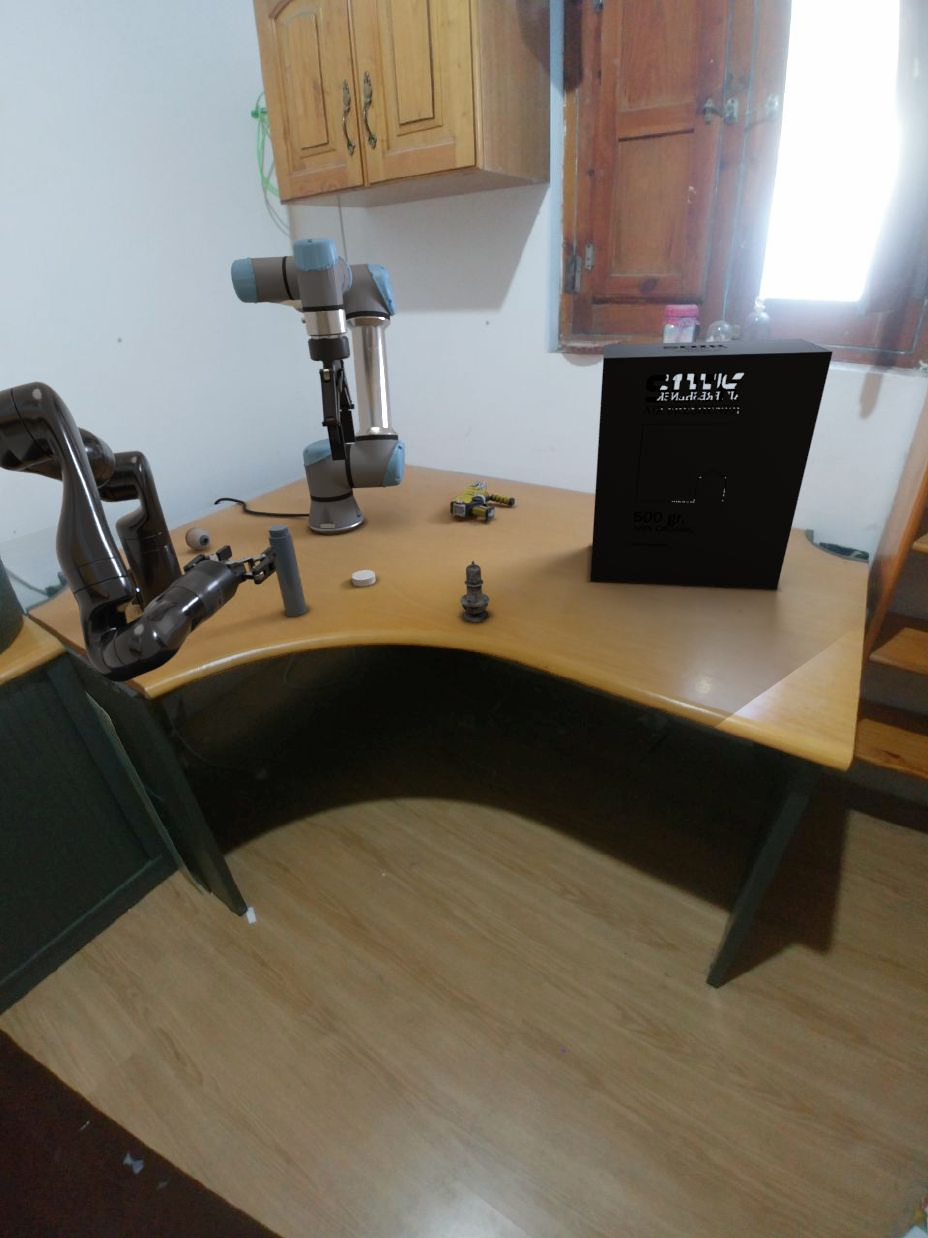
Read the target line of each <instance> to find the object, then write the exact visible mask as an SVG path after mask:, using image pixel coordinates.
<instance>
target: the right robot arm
mask: <svg viewBox="0 0 928 1238" xmlns="http://www.w3.org/2000/svg"><path fill="white" fill-rule="evenodd" d="M292 253H293V255H284V256H266V257H265V256H264V257H250V256H247V257H246V258H238V259H234V261H233V262H231V266H230V277H231V285H232V287H233V290H234V292H235V295H236V297H237V298H238V299H239V301H240V302H242V303H244V304H261V303H269V304H277V305H281V306H282V305H283V306H288V307H292V308H293V309H294V310H296V311H297V312H298V313H302V314H303V317H301V320H300V321H301V323H302V324H305V331H306V335H307V336H309V337H310V338H309V339H308V340H307V346H308V351H309V358H310V360H312V361H314V362H322V368H319V371H318V373H319V379H320V388H321V389H320V390H321V401H322V404H321V405H322V417H323V421H321V425H322V427H323V428H325V427H326V429H327V430H326V431H327V436H328V438H325V439H324V438H323V439H320V440H316V441H314V442H312V443H309V444H308V445H306V446H305V447H304V448H303V450H302V457H303V467H304V471H305V477H306V481H307V486H308V492H309V498H310V507H309V513H280V512H279V513H278V512H265V511H256V510H251V509H248V508H247V503H246V502H245V501H244V500H241V499H237V498H232V497H221V498H218V499H216V500H215V502H214V503H213V505H219V503H221V502H232V503H237V504H241V505H242V510H243V511H244V513H247V514H250V515H256V516H266V517H279V518H280V517H281V518H282V517H283V518H308V521H307V522H308V523H307V524H308V528H309V529H308V530H310V531H311V532H312V533H314V534H317V535H323V536H324V535H325V536H327V535H329V536H331V535H339V534H340V535H341V534H345V533H350V532H353V531H355V530H357V529H359V528H361V527H362V526H363V525H364V523H365V519H364V514H363V512H362V510H361V508H360V505H359V504H358V501H357V500H356V498H355V495H354V489H369V488H370V489H373V488H383V489H385V488H389V487H397V486H399V485H400V484H402V481H403V479H404V475H405V466H406V445H405V442H404V441H402V440H399V434H398V433H397V431H395V430H394V428H393V426H392V411H391V398H390V397H391V395H390V382H389V381H390V380H389V367H388V366H389V365H388V354H387V341H386V339H387V338H386V331H387V329H388V328H389V326H391V317H394V316H395V315H396V314H397V310H396V301H395V296H394V291H393V286H392V283H391V278H390V275H389V272H388V270H387V267H386V266H385V265H384V264H381V263H368V262H366V263H358V264H348V262H347V261H346V260H345V259H344V258H343V257H342V256H341V255H339V254H338V252H337V247H336V243H335V241H334V240H333V238H329V237H314V238H300V239H296V240H294V241H293V243H292ZM348 331H350V332H351V334H350V335H351V345H352V346H351V347H352V359H353V367H354V369H353V370H354V382H355V394H356V404H357V406H355V403H353V400H352V395H351V391H350V387H349V384H348V379H347V374H346V373H347V372H346V370H345V361H344V360H347V359H349V358H350V357H351V348H350V341H349V337H348V336H347V335H346V334H347V333H348ZM356 407H357V418H358V430H357V432H355V426H354V419H353V411H352V410H355V408H356Z"/></svg>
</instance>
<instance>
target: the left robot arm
mask: <svg viewBox="0 0 928 1238" xmlns="http://www.w3.org/2000/svg"><path fill="white" fill-rule="evenodd" d="M0 468H1V469H4V470H6V471H10V472H17V473H27V474H33V475H39V476H42V477H45V478H49V479H52V480H55V481H58V482H60V483H62V499H61V506H60V513H59V518H58V523H57V528H56V535H55V552H56V558H57V561H58V562H57V563H58V564H59V567H60V570H61V572H62V573H63V576H64V578H65V581H66V583H67V584H68V586H69V587H68V588H69V589H70V591H71V594H72V595H73V597H74V599H75V602H76V603H77V605H78V610H79V620H80V626H81V632H82V636H83V642H84V648H85V651H86V655H87V657H88V659H89V662H90V664H91V666H92V667H93V668H94V670H95V671H96V672H97V673H98V674H99V675H100V676H101V677H103V678H104V679H106V680H108V681H111V682H114V683H123V682H127V681H131V680H133V679H136V678H137V677H141V676H142V675H145V674H148V673H150V672H153V671H156V670H157V669H160V668H162V667H163V666H164V665H166V664H167V663H168V662H169V661H171V660H172V659H173V658H174V657H175V656H176V655H177V654H178V652H179V651H180V649H181V647H182V646H183V645H184V644H185V642H186V640H187V638H188V637H189V636H190V635H191V634H193V632H194V631H196V630H197V629H198V628H199V627H200V626H201V625H202V624H204V623H205V622H207V621H208V620H210V619H211V618H212V617H213V616H214V615H215V614H217V613H218V612H219V611H220V610H221V609H222V608H223V607H224V606H226V604H227V603H228V602H229V601H231V600H232V599H233V598H234V597H235V595H236V593H237V591H238V588H239V586H240V585H241V584H242V583H246V582H247V581H248V580H249V581H250V580H251V581H253V583H254V585H257V586H258V585H261V584H263V583H264V582H265V581H266V580H267V579H268V578H270V577H271V576H272V575H273V574H274V573H276V570H277V569H276V565H275V561H274V560H275V559H276V557H277V556H276V552H275V550H274V547H270V546H268V547H266V549H265V550H263V551H262V552H261V553H259V554H258V555H255V556H253V557H252V556H250V555H247V556H243V557H240V558H238V559H231V558H233V551H232V548H231V545H229V544H228V545H227V544H225V545H224V546H222V547H221V548H219V549H218V550H217V551H215V552H210V553H208V555H206V554H205V553H199V554H196V556H195V557H194V558H193V559H191V560H190V561H188V563H186V564H185V565H183V567H182V569H183V571H182V569H181V566H180V565H181V564H180V563H179V559H178V556H177V552H176V549H175V547H174V543H173V540H172V538H171V534H170V530H169V527H168V525H167V521H166V518H165V515H164V512H163V508H162V505H161V501H160V499H159V495H158V491H157V487H156V483H155V482H156V481H155V478H154V474H153V470H152V468H151V465H150V462H149V460H148V458H147V456H146V455H145V454H144V453H143V452H142V451H140V450H127V451H118V452H113V450H112V448H111V447H110V446H109V444H108V443H107V442H105V441H104V440H103V439H102V438H100V437H99V436H97V435H96V434H94V433H93V432H91V431H90V430H88V429H86V428H84V427H80V426H78V425H77V422H76V420H75V418H74V416H73V414H72V412H71V410H70V408H69V407H68V405H67V403H66V402H65V401H64V400H63V398H62V397H61V395H60V393H58V392H57V391H56V390H55V389H54V388H53V387H52V386H50V385H49V384H47V383H45V382H43V381H32V382H27V383H24V384H19V385H16V386H13V387H8V388H5V389H1V390H0ZM135 500H139V504H140V505H139V506H138V507H136V508H135V509H134V510H132V511H130V512H128V513H127V514H125V515H123V516H121V517H119V518H118V519H117V520H116V521H115V524H114V525H115V526H114V527H115V531H116V533H117V536H118V538H119V539H118V540H119V541H120V544H121V547H122V550H123V552H124V555H125V558H126V561H127V564H128V566H129V568H127V566H126V564H125V561H124V559H123V556H122V555H121V553H120V550H119V549H118V546H117V544H116V542H115V538H114V536H113V534H112V531H111V529H110V526H109V523H108V520H107V517H106V513H105V509H104V506H103V503H102V502H105V503H121V502H128V501H135ZM257 562H259V563H258V564H257V565H256V563H257ZM246 563H247V566H248V571H247V568H246V565H245V564H246ZM130 604H131V605H132V606H139V608H140V610H141V611H143V613H142V614H140V615H139V616H137V617H136V618H134V619H132V620H131V621H129V622H128V618H127V617H128V616H127V609H128V607H129V605H130Z"/></svg>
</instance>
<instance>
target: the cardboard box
mask: <svg viewBox="0 0 928 1238" xmlns="http://www.w3.org/2000/svg"><path fill="white" fill-rule="evenodd" d="M833 353H834V352H833V350H830V349H827V348H826V347H825V348H824V347H822V346H821V345H818V344H815V343H813V342H810V341H808V340H805V339H802V338H783V339H782V338H781V339H779V338H777V339H776V338H775V339H749V340H747V339H746V340H723V341H722V340H720V341H719V340H718V341H689V342H687V341H685V342H683V341H682V342H657V343H654V342H653V343H627V344H625V343H624V344H623V343H621V344H604V345H603V359H602V362H603V363H602V375H601V389H600V390H601V392H600V409H599V424H598V425H599V426H598V427H599V428H598V442H597V457H596V458H597V459H596V460H597V461H596V475H595V493H594V496H595V497H594V508H593V509H594V510H593V525H592V527H593V528H592V541H591V557H590V558H591V560H590V575H589V576H590V577H589V580H590V582H603V583H622V584H623V583H625V584H626V583H628V584H645V585H647V584H648V585H669V586H670V585H671V586H693V587H712V588H714V587H715V588H734V589H735V588H737V589H755V590H757V589H758V590H759V589H760V590H778V586H779V582H780V577H781V574H782V570H783V565H784V561H785V556H786V553H787V548H788V543H789V539H790V536H791V531H792V526H793V522H794V519H795V513H796V510H797V505H798V501H799V497H800V493H801V489H802V484H803V480H804V476H805V471H806V467H807V464H808V463H807V462H808V458H809V455H810V450H811V446H812V442H813V437H814V434H815V430H816V425H817V421H818V417H819V411H820V407H821V404H822V400H823V399H822V398H823V394H824V390H825V386H826V381H827V378H828V374H829V369H830V366H831V360H832V356H833ZM738 374H742V376H741V377H740V378H735V376H736V375H738ZM678 375H681V379H680V380H679V384H678V388H675V385H676V379H675V377H676V376H678ZM689 375H693V380H692V381H691V379H688V376H689ZM702 375H704V379H702ZM719 378H720V382H719ZM724 378H725V382H724ZM723 382H724V385H730V384H731V385H734V388H725V387H724V386H723ZM691 383H692V385H695V388H691ZM705 385H710V388H704V386H705ZM662 387H666V389H662Z"/></svg>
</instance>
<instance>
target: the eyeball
mask: <svg viewBox="0 0 928 1238" xmlns="http://www.w3.org/2000/svg"><path fill="white" fill-rule="evenodd" d="M184 539H185V543H186V545H187V547H189V548H190V549H192V550H194V551H202V550H205V549H207V548H208V547H209V546H210V543H211V535H210V533H209V532H208V531H207V530H206V529H205V528H203V527H201V526H194V527H192V528H189V529H188V530H187V531H186V533H185V535H184Z"/></svg>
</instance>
